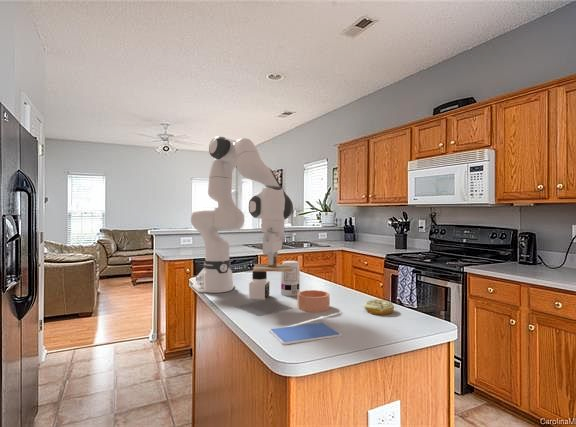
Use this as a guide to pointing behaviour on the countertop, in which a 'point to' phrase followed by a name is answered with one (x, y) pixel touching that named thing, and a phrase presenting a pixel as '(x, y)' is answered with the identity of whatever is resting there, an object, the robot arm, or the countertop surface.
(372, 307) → the decorated donut
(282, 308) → the mat
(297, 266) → the supplement can
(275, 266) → the lid
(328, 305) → the bowl
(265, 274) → the medicine bottle
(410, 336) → the countertop surface
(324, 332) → the tablet computer
